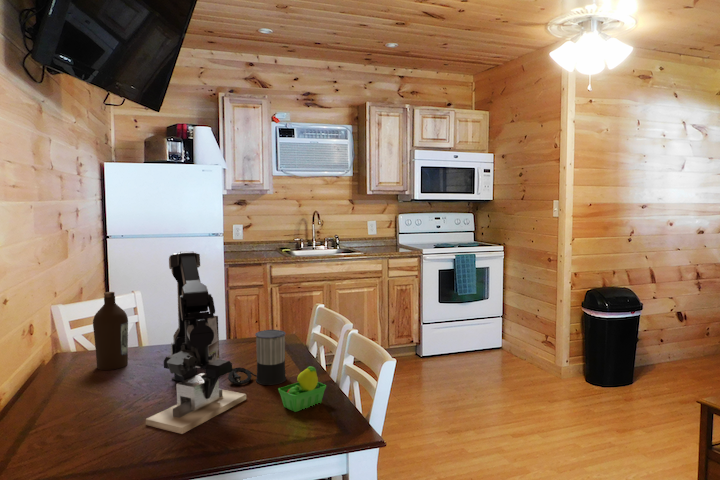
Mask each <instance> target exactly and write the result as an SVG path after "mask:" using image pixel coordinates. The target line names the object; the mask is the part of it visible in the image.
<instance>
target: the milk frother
mask: <svg viewBox="0 0 720 480" xmlns="http://www.w3.org/2000/svg"><path fill="white" fill-rule="evenodd" d="M255 336H256V337H255V339H256V342H255V343H256V374H254V372H252V371H251V370H249V369H246V368H245V367H239V366H238V367H235V368H232V372H229V373H227V375H228V376H227V379H228V381H229V382H230V383H231V384H234V385H246V384H248V383H250V382H251V380H252V376H254V377H256V379H255V382H256V383H258V384H260V385H265V386H272V385H279V384H282V383H285V382H286V381H287V375H286V332H285V331H284V330H280V329H266V330H265V329H263V330H259V331H258V332H255ZM238 373H243V374H245V375H246V376H247V378H245V379H244V380H243V379H242V378H241V377H242V376H241V375H239V374H238ZM241 379H242V380H241Z"/></svg>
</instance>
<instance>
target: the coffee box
mask: <svg viewBox="0 0 720 480" xmlns="http://www.w3.org/2000/svg"><path fill="white" fill-rule="evenodd" d="M208 324H209V326H210V327H211V328H212V330H213V332H214V339H213V341H212V344H210V345H208V350H209V355H212V359H211V360H209V362H210V363H211V362H214V361H216V360H219V359H220V340H219V339H220V338H219V334H220V333H219V316H218V315H214V318H208Z"/></svg>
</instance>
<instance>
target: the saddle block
mask: <svg viewBox="0 0 720 480" xmlns="http://www.w3.org/2000/svg"><path fill="white" fill-rule="evenodd" d="M197 374H198V375H196V376H194V377H191V378H189V379H186V380H184V381H182V382H181V381H178V382H177V383H176V385H175V386H176V405H177V406H179V405H182V404H184V403H186V402H188V401H190V400H191V410H197V409H199V408H201V407H203V406H205V405H207V404H209V403H211V402H213V401H215V400H217V399H219V388H220V382H219V379H220V378H219V379H218V380H217V382H216V385H215V387H214V389H213V392H212V394H211V396H210V398H209V399H206V396H205V384H204V380H203V379H202V378H201V376H202V375H204V374H205V373H204V372H201V373H197Z"/></svg>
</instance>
